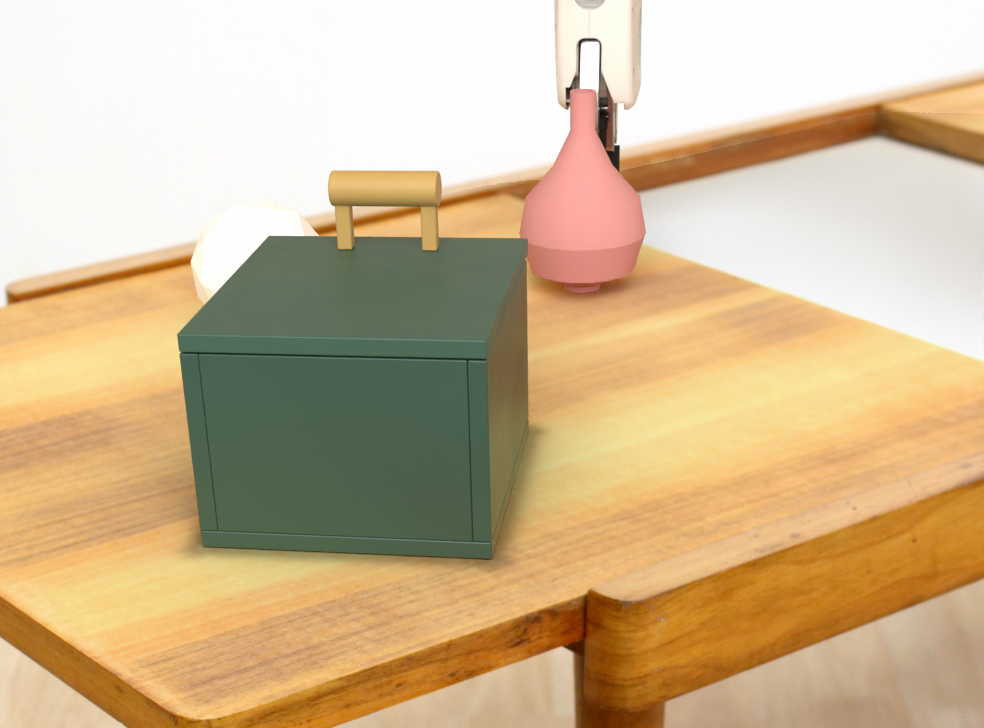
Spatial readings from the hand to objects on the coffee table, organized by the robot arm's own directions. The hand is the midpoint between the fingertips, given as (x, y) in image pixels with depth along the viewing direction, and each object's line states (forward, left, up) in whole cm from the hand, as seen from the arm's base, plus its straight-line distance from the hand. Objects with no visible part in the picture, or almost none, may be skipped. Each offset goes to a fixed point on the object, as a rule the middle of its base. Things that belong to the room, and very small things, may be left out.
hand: (594, 207), depth 104 cm
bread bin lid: (+7, +39, +6) cm, 40 cm away
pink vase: (0, +9, -3) cm, 10 cm away
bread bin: (+7, +39, -3) cm, 40 cm away
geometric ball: (+18, +18, -3) cm, 26 cm away
